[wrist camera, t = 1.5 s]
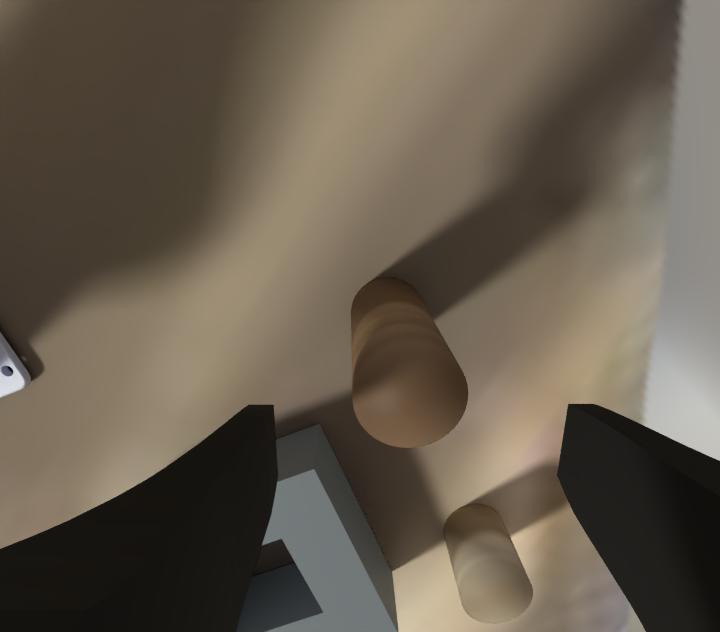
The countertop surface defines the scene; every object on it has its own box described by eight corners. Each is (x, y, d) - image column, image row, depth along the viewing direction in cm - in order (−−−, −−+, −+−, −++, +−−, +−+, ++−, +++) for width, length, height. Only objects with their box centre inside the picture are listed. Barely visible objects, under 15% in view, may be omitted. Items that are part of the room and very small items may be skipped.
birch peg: (435, 515, 23) (452, 582, 20) (493, 496, 23) (522, 559, 19) (454, 560, 24) (473, 631, 21) (510, 541, 24) (540, 610, 20)
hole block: (136, 490, 23) (99, 545, 19) (319, 423, 22) (313, 468, 18) (227, 626, 25) (208, 694, 22) (392, 572, 24) (398, 634, 21)
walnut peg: (340, 293, 20) (334, 368, 12) (408, 266, 19) (447, 326, 12) (366, 355, 21) (377, 462, 13) (432, 330, 20) (482, 425, 13)
